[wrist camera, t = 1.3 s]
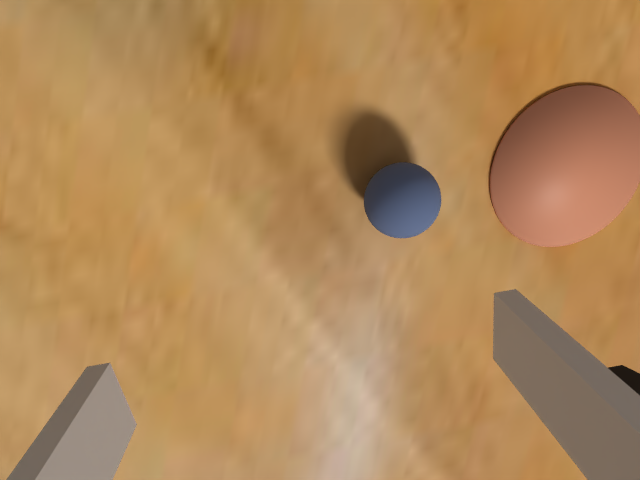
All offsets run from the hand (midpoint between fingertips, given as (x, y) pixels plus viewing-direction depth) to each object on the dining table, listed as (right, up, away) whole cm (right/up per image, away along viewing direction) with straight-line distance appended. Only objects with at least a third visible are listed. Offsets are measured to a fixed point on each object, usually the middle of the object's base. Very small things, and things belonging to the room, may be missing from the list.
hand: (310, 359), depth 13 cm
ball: (+6, +7, +15) cm, 18 cm away
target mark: (+20, +10, +18) cm, 29 cm away
